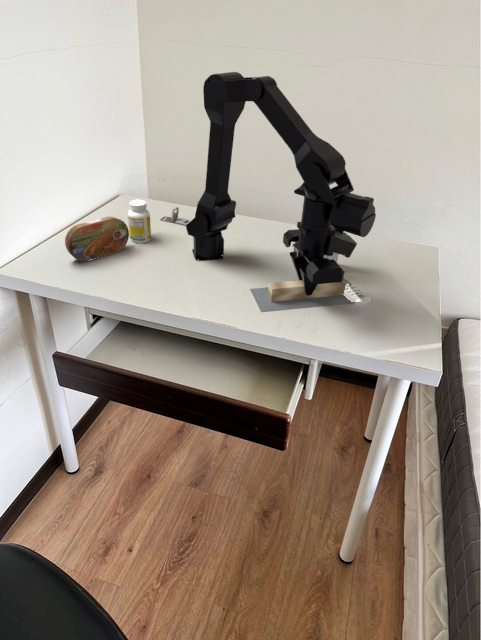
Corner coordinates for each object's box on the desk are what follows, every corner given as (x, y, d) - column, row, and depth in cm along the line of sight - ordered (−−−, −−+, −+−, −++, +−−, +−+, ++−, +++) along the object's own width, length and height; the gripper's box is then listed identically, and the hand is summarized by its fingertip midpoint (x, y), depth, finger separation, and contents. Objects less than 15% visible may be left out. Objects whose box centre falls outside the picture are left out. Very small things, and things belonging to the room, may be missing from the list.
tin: (72, 265, 105) (66, 231, 100) (66, 260, 107) (60, 226, 102) (131, 248, 114) (128, 215, 109) (124, 243, 115) (121, 211, 111)
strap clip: (191, 223, 128) (191, 208, 126) (186, 227, 126) (186, 212, 123) (164, 217, 131) (164, 203, 128) (159, 221, 128) (158, 206, 126)
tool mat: (260, 314, 92) (261, 312, 92) (249, 291, 99) (249, 288, 99) (362, 304, 97) (363, 301, 96) (344, 282, 104) (345, 280, 103)
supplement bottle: (137, 245, 115) (134, 208, 109) (125, 238, 118) (122, 201, 113) (155, 239, 118) (153, 203, 113) (143, 232, 121) (141, 197, 116)
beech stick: (271, 301, 95) (272, 289, 93) (267, 295, 97) (268, 283, 95) (343, 294, 98) (345, 282, 96) (338, 288, 100) (341, 276, 98)
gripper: (378, 239, 82) (361, 312, 91) (336, 201, 97) (325, 267, 106) (319, 243, 80) (308, 317, 89) (285, 203, 95) (278, 271, 104)
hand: (306, 291), depth 97 cm, fingers closed on beech stick, 2 cm apart
